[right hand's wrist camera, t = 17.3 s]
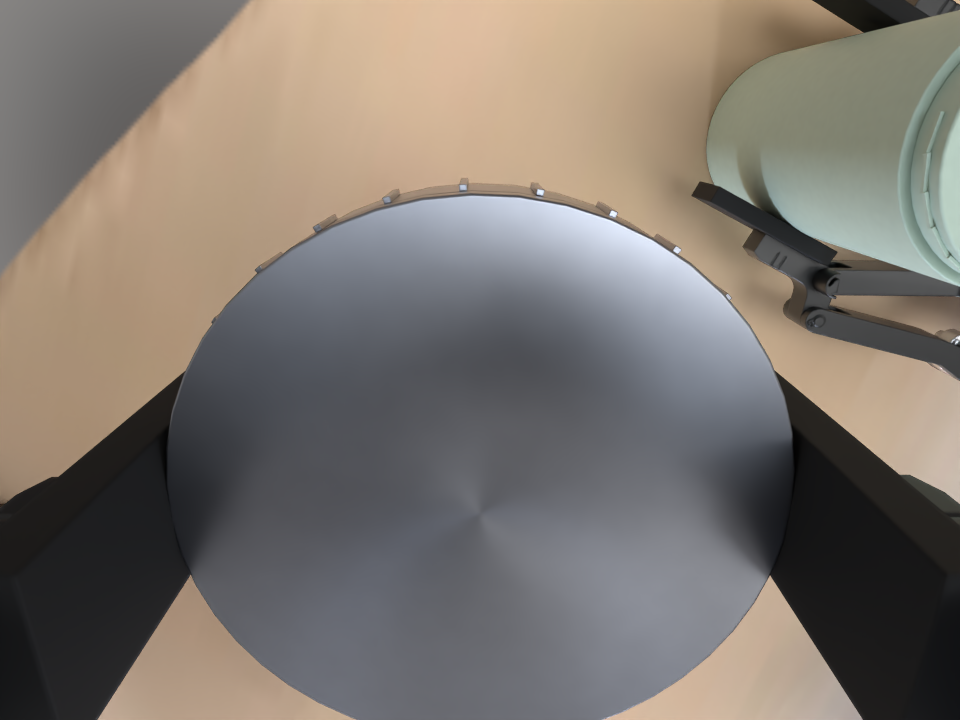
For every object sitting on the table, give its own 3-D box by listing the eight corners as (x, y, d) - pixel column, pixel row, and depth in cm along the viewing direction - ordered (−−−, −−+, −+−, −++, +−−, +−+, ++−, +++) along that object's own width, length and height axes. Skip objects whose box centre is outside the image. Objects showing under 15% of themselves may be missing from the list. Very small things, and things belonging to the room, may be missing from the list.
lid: (760, 643, 13) (797, 711, 12) (283, 701, 14) (259, 773, 12) (756, 129, 10) (806, 131, 8) (122, 233, 10) (59, 252, 9)
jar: (677, 185, 36) (866, 241, 18) (757, 22, 33) (1068, -93, 16) (813, 244, 37) (1110, 349, 20) (901, 90, 34) (1339, 54, 17)
